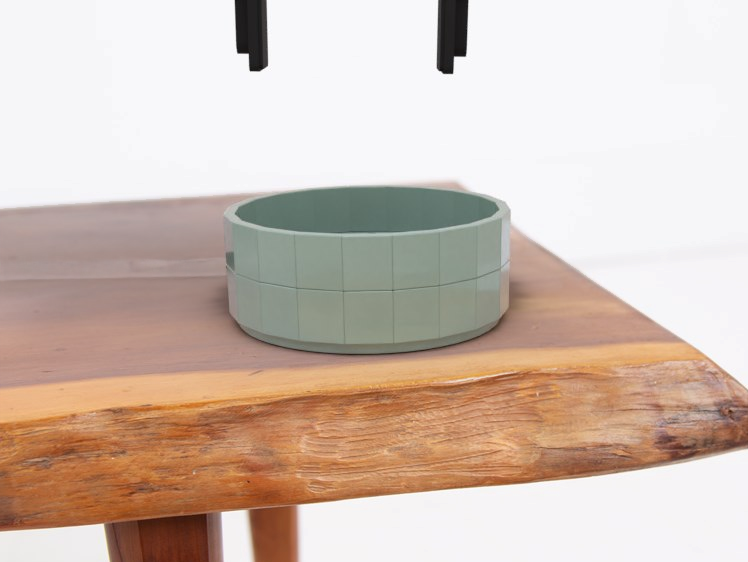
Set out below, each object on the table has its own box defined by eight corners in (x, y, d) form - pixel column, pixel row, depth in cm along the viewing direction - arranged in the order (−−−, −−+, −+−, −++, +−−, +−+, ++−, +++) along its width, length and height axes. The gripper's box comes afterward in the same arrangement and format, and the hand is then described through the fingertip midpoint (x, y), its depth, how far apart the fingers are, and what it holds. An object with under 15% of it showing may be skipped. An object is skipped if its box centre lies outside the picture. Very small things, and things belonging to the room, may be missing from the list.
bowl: (214, 359, 55) (206, 238, 53) (246, 284, 69) (241, 187, 67) (523, 353, 55) (526, 232, 53) (492, 280, 70) (493, 183, 68)
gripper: (526, -289, 56) (510, 68, 62) (178, -296, 55) (194, 64, 61) (549, -329, 49) (528, 78, 55) (150, -339, 48) (171, 74, 54)
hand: (352, 71), depth 58 cm, fingers open, 9 cm apart
